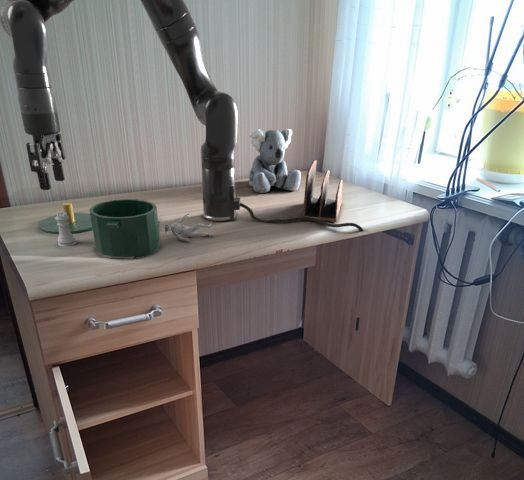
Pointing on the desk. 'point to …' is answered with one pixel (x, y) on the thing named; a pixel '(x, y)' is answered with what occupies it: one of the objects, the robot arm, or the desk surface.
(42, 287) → the desk surface
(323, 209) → the letter holder
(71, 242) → the rook chess piece
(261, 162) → the koala plush
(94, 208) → the pot
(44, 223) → the lid
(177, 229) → the soldier figure
